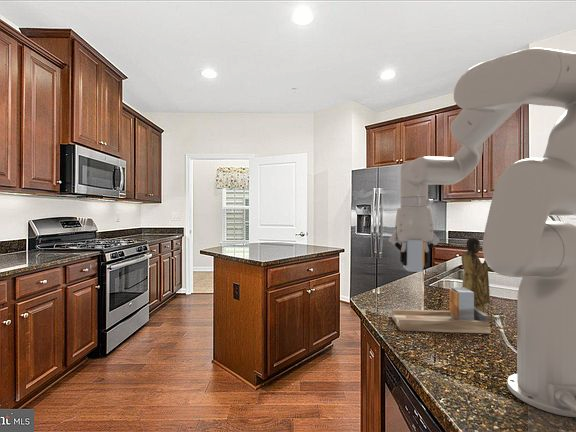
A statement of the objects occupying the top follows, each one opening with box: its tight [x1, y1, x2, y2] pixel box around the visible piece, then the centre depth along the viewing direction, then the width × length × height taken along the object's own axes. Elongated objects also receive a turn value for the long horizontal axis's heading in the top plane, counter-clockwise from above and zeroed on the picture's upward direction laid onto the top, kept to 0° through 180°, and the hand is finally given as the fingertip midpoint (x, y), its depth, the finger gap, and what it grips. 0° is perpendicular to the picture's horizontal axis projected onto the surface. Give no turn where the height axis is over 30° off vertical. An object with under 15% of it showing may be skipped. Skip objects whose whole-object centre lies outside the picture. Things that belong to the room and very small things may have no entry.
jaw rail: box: [391, 286, 492, 334], centre depth 95 cm, size 12×24×10 cm, turn 83°
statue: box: [460, 236, 491, 315], centre depth 106 cm, size 9×9×25 cm
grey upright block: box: [402, 240, 425, 273], centre depth 95 cm, size 6×5×9 cm
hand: (413, 264), depth 95 cm, fingers closed on grey upright block, 4 cm apart
